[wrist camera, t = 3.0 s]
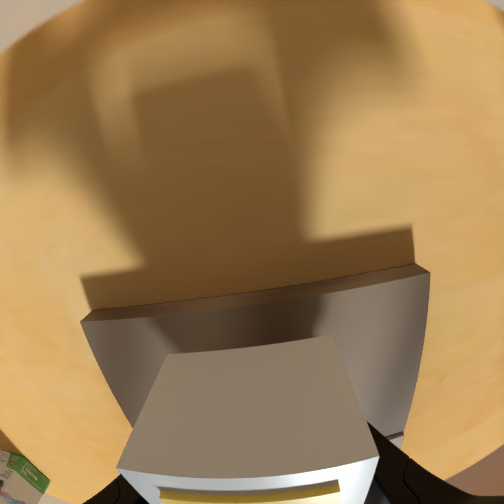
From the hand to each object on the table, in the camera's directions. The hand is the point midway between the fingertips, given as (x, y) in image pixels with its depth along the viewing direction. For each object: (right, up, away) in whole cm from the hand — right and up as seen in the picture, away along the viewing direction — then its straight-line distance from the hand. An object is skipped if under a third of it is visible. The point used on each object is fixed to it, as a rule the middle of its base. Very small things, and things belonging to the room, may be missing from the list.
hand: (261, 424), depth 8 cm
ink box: (-29, -21, +10) cm, 37 cm away
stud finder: (0, 0, 0) cm, 0 cm away
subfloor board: (+1, -3, +4) cm, 5 cm away
